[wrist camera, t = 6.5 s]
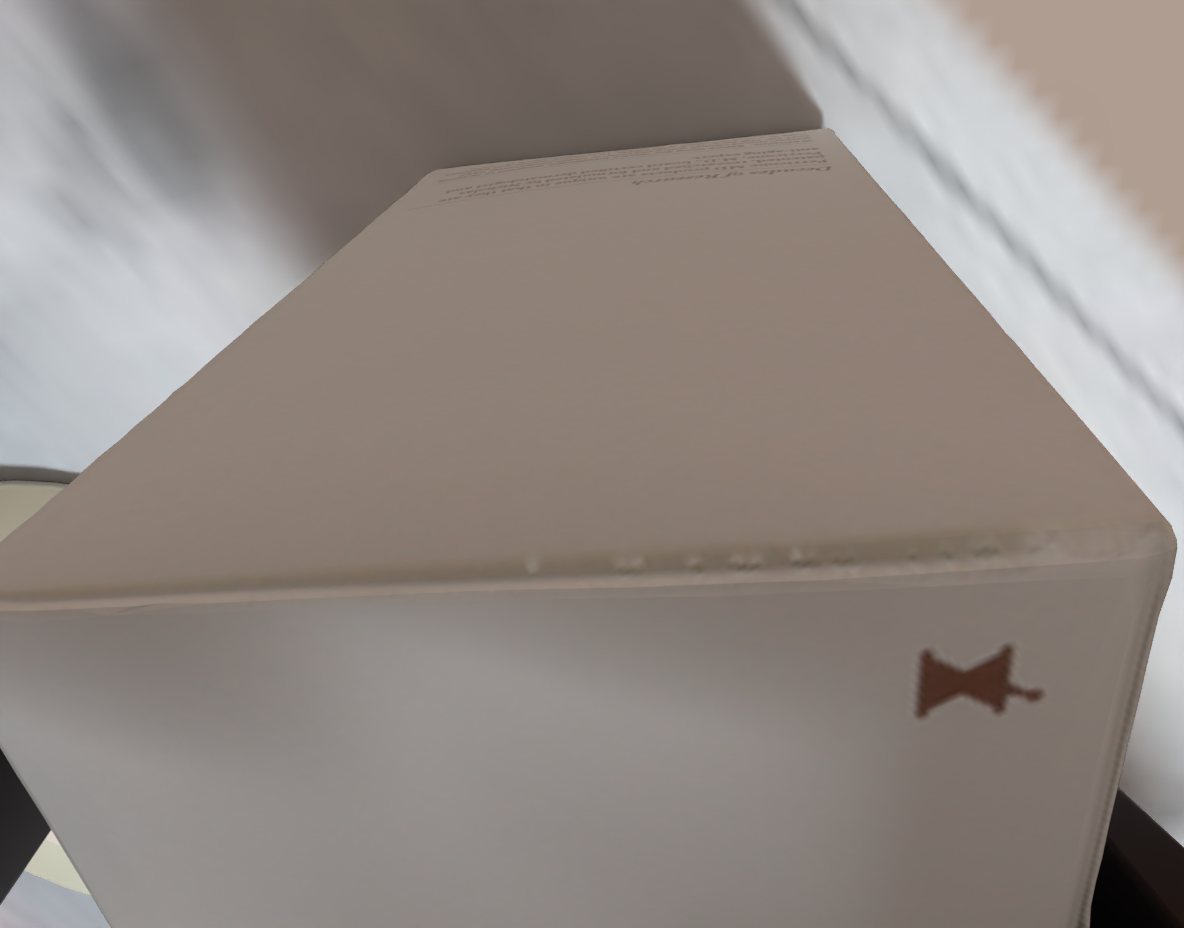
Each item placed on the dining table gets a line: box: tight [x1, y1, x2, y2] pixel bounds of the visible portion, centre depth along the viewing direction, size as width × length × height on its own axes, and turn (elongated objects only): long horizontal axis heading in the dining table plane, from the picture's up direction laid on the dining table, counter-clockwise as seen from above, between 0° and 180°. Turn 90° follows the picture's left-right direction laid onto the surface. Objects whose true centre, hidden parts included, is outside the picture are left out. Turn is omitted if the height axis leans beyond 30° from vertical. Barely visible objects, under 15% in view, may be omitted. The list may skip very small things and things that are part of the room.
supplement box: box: [0, 128, 1177, 928], centre depth 12 cm, size 7×7×13 cm
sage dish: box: [0, 480, 91, 895], centre depth 24 cm, size 15×15×1 cm
